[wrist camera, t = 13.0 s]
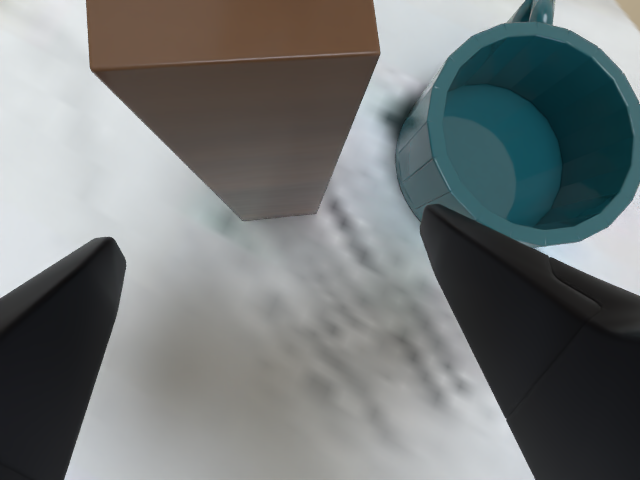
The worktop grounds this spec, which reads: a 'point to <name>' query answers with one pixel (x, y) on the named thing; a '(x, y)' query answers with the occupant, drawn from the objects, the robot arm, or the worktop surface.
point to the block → (242, 88)
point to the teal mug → (525, 133)
